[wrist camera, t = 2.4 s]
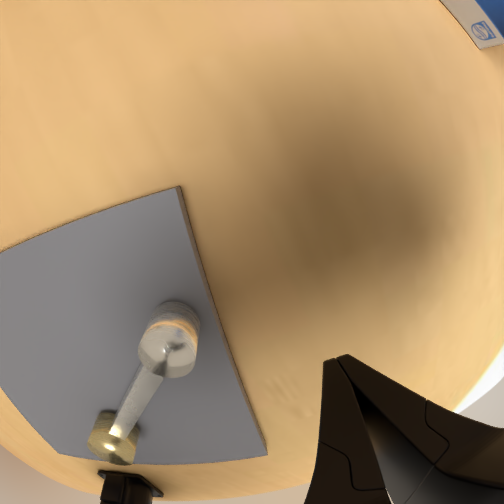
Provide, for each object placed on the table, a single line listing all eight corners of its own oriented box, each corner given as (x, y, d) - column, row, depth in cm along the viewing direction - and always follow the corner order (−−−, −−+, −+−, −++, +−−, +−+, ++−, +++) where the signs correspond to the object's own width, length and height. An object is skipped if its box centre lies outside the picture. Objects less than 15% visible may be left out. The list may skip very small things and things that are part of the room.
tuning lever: (133, 444, 17) (127, 469, 15) (93, 425, 17) (84, 450, 14) (217, 321, 14) (216, 355, 11) (154, 288, 13) (139, 317, 11)
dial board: (266, 444, 20) (267, 456, 19) (61, 446, 20) (58, 454, 19) (179, 185, 13) (174, 188, 12) (-48, 277, 13) (-57, 283, 12)
